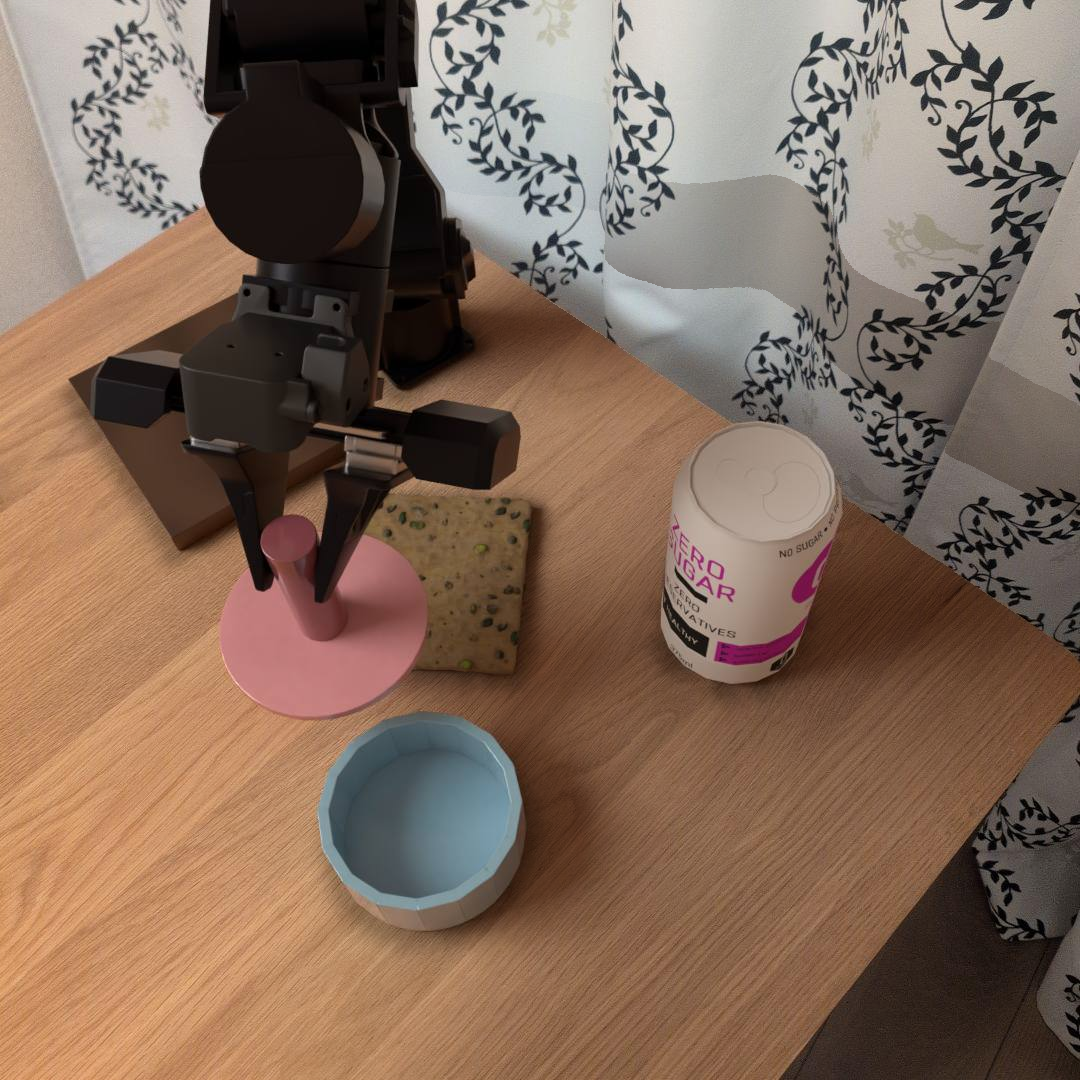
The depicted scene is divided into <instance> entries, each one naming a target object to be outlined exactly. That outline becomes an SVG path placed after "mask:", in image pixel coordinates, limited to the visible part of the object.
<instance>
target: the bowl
mask: <svg viewBox="0 0 1080 1080" xmlns="http://www.w3.org/2000/svg"><path fill="white" fill-rule="evenodd" d="M316 813H317V821H318V830H319V835H320V836H319V837H320V843H321V849H322V851H323V854H324V855H325V856H326V859H327V860H328V862H329V863H330V864H331V866H332V868H333V869H334V871H335V873H336V874H337V876H338V877H339V879H340V880H341V882H342V884H343V885H344V886H345V888H346V890H347V891H348V893H349V894H350V896H351V897H352V898H353V900H354V901H355V903H356V904H357V905H358V906H360V907H362V908H363V909H364V910H365V911H366V912H368V913H369V914H370V915H372V916H373V917H374V918H375V919H377V920H379V921H382V922H383V923H385V924H387V925H390V926H394V927H396V928H399V929H403V930H408V931H417V932H431V931H433V932H435V931H439V930H445V929H449V928H453V927H456V926H459V925H462V924H464V923H467V922H469V921H470V920H472V919H474V918H475V917H477V916H479V915H480V914H482V913H484V912H485V911H486V910H487V909H489V908H490V907H492V905H493V904H494V903H495V902H496V901H497V900H498V899H500V897H501V896H502V895H503V893H504V892H505V891H506V890H507V888H508V887H509V886H510V884H511V882H512V880H513V879H514V878H515V877H514V876H515V875H516V873H517V871H518V869H519V866H520V863H521V861H522V856H523V852H524V848H525V839H526V831H527V820H526V815H525V807H524V801H523V796H522V792H521V788H520V784H519V780H518V775H517V771H516V767H515V765H514V762H513V761H512V760H511V759H510V757H509V756H508V754H507V753H506V751H505V750H504V749H503V748H502V746H501V745H500V744H499V742H498V741H497V739H496V738H495V737H494V736H493V734H492V733H490V732H488V731H487V730H485V729H483V728H481V727H479V726H478V725H476V724H475V723H473V722H471V721H469V720H467V719H465V718H464V717H462V716H460V715H455V714H449V713H448V714H447V713H441V712H434V711H426V710H420V711H419V710H418V711H415V712H414V711H413V712H410V713H407V714H401V715H397V716H393V717H389V718H385V719H382V720H380V721H379V722H378V723H376V724H375V725H374V726H372V727H370V728H369V729H367V730H366V731H364V732H363V733H361V734H360V735H358V736H356V737H354V739H352V740H351V741H350V742H348V744H347V746H346V747H345V748H344V750H343V751H342V752H341V754H340V755H339V757H338V758H337V759H336V761H335V762H334V763H333V764H332V766H331V767H330V769H329V770H328V771H327V773H326V776H325V780H324V784H323V787H322V791H321V795H320V799H319V802H318V806H317V812H316Z"/></svg>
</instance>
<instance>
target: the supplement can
mask: <svg viewBox="0 0 1080 1080" xmlns="http://www.w3.org/2000/svg"><path fill="white" fill-rule="evenodd" d="M671 496H672V497H671V504H670V505H671V506H670V507H671V508H670V514H669V527H668V536H667V545H666V546H667V547H666V556H665V566H664V575H663V585H662V592H661V594H662V596H661V605H660V628H661V631H662V634H663V636H664V639H665V642H666V644H667V648H668V649H669V650H670V651H671V653H672V654H674V656H675V657H676V658H677V659H678V661H680V663H681V664H682V665H683V666H684V667H685V668H688V669H689V670H691V671H693V672H694V673H696V674H698V675H700V677H703V678H705V679H707V680H712V681H715V682H716V681H717V682H721V683H725V684H729V685H734V684H744V683H754V682H758V681H761V680H762V679H764V678H767V677H769V676H771V675H774V674H775V673H778V672H779V671H780V670H782V668H783V667H784V666H785V665H786V664H788V662H789V661H790V660H791V659H792V658H793V657H794V656H795V654H796V652H797V649H798V646H799V643H800V641H801V638H802V635H803V633H804V630H805V627H806V624H807V621H808V618H809V616H810V615H809V614H810V613H811V609H812V606H813V603H814V600H815V597H816V594H817V590H818V588H819V585H820V582H821V579H822V576H823V573H824V570H825V567H826V564H827V561H828V557H829V555H830V552H831V549H832V546H833V544H834V540H835V537H836V534H837V531H838V529H839V526H840V523H841V520H842V516H843V500H842V499H843V497H842V488H841V486H840V484H839V482H838V480H837V479H836V476H835V472H834V470H833V467H832V466H831V463H830V462H829V460H828V458H827V456H826V454H825V452H824V451H823V450H822V449H821V448H820V447H819V446H818V445H817V444H816V443H815V442H814V441H812V440H811V438H810V437H808V436H807V435H805V434H804V433H801V432H799V431H798V430H796V429H793V428H791V427H789V426H787V425H784V424H779V423H773V422H769V421H762V420H755V421H744V422H735V423H733V424H731V425H728V426H726V427H723V428H720V429H718V430H716V431H713V432H712V433H711V434H710V435H709V436H708V437H707V438H705V440H703V441H702V442H701V443H700V444H699V445H698V446H697V447H696V448H695V449H694V450H693V451H692V452H691V453H690V454H689V455H688V456H687V457H685V458H684V460H683V462H682V464H681V466H680V467H679V470H678V472H677V473H676V476H675V478H674V480H673V487H672V495H671Z"/></svg>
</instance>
